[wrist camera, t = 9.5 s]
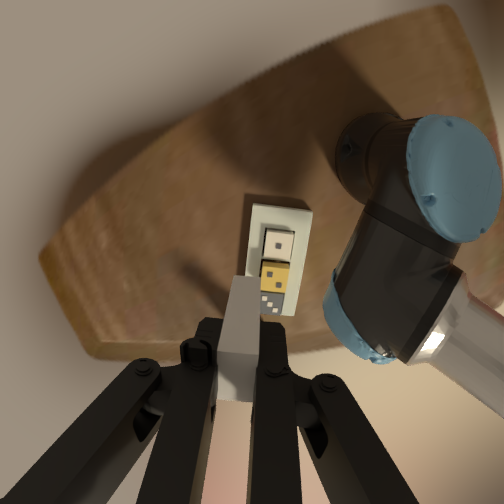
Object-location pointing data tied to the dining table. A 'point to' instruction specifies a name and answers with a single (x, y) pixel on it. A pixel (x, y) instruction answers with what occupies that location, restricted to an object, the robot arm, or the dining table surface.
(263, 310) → the tile
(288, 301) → the tile board
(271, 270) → the tile
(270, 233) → the tile
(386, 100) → the dining table surface
